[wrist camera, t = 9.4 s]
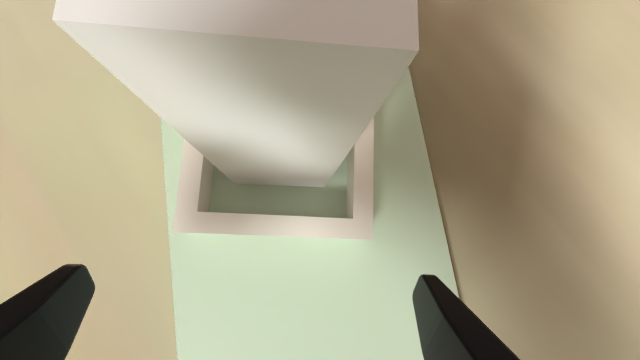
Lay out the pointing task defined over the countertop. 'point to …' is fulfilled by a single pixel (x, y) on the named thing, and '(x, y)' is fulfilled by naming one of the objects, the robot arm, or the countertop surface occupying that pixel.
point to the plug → (255, 74)
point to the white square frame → (198, 219)
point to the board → (312, 259)
